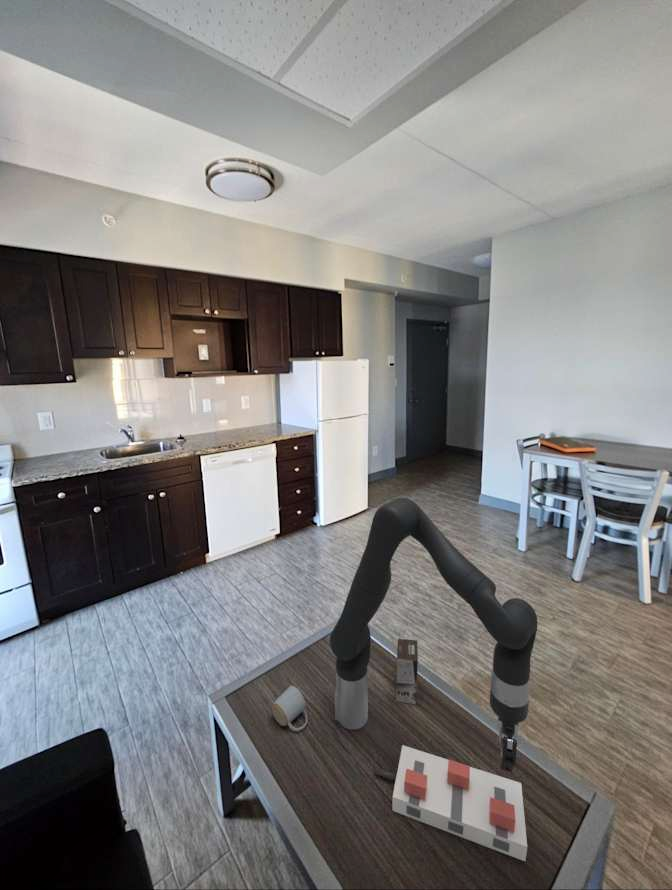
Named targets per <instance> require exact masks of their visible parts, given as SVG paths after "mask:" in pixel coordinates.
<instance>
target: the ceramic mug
mask: <svg viewBox="0 0 672 890" xmlns="http://www.w3.org/2000/svg"><path fill="white" fill-rule="evenodd" d="M306 708H307V703H306V700H305V697H304V696H303V693H301V691H300V690H299V689H298V687H296V686H294V685H290V686H288V688H287V689H286V690H284V691H283V692H282V694H280V695H279V697H277V698H276V700H274V702H273V704H272V705H271V712H272V715H273V717H274V719H275V721H276V722H277V723H278V724H279V725H280V726H283V727H286V726H288V727H289V728H290V729H291V730H292V731H293V732H297V733H299V732H301V731H303V730H304V729H305V727H306V725H307V723H308V715H307V712H306ZM301 713H303V716H304V719H305V722H304V724H303V725H302V726H299V727H294V725H293V724H292V722H293V720H295V719H296V718H297V717H298V716H300V714H301Z"/></svg>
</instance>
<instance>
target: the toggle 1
mask: <svg viewBox="0 0 672 890" xmlns="http://www.w3.org/2000/svg"><path fill="white" fill-rule="evenodd" d="M426 791H427V775H424V774H421V773H418V772H415V771H412V770H409V769H406V775H405V780H404V792H405V793H407V794H410V795H413V796H416V797H418V798H421V799H424V800H425V799H426Z"/></svg>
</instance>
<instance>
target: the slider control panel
mask: <svg viewBox="0 0 672 890" xmlns="http://www.w3.org/2000/svg"><path fill="white" fill-rule="evenodd" d="M448 760H449V759H447V758H444V757H440V756H438V755H435V754H432V753H428V752H425V751H422V750H419V749H416V748H413V747H410V746H406V745H404V744H402V745H401V751H400V755H399V761H398V766H397V767H398V768H397V772H396V774H395V773H392V772H391V771H386V770H384V769H382V768H378V767H376V766H375V767H374V771H373V772H374V774H376V775H377V776H381V777H384V778H388V779H389V780H393V781H395V782H394V787H393V793H392V806H391V808H392V812H394V813H397V814H399V815H403V816H406V817H408V818H410V819H413V820H416V821H417V822H421V823H424V824H426V825H427V826H432V827H434V828H436V829H439V830H442V831H445V832H446V833H449V834H452V835H455V836H457V837H460V838H463V839H465V840H468V841H471V842H474V843H476V844H479V845H481V846H483V847H486V848H489V849H491V850H494V851H496V852H499V853H502V854H505V855H507V856H509V857H512V858H515V859H517V860H520V861H521V862H522V861H523V862H526V861H527V853H528V852H527V851H528V840H527V839H528V838H527V830H526V819H525V818H526V817H525V809H524V799H523V797H524V796H523V788H522V783H521V782H519V781H515V780H512V779H510V778H506V777H503V776H501V775H498V774H497V775H496V774H495V773H494V774H493V773H491V772H487V771H485V770H481V769H478V768H475V767H471V766H470V779H469V790H468V789H465V788H462V787H459V786H456V785H453V784H450V783H447V775H448ZM406 769H409V770H412V771H415V772H418V773H421V774H424V775H427V791H426V799H425V800H424V799H421V798H418V797H416V796H413V795H410V794H407V793H405V792H404V780H405V775H406ZM490 797H492V798H495V799H498V800H501V801H503V802H506V803H509V804H512V805H514V808H515V828H514V832H512V831H510V830H507V829H504V828H501V827H499V826H496V825H493V824H490V823H489V804H490Z"/></svg>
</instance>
